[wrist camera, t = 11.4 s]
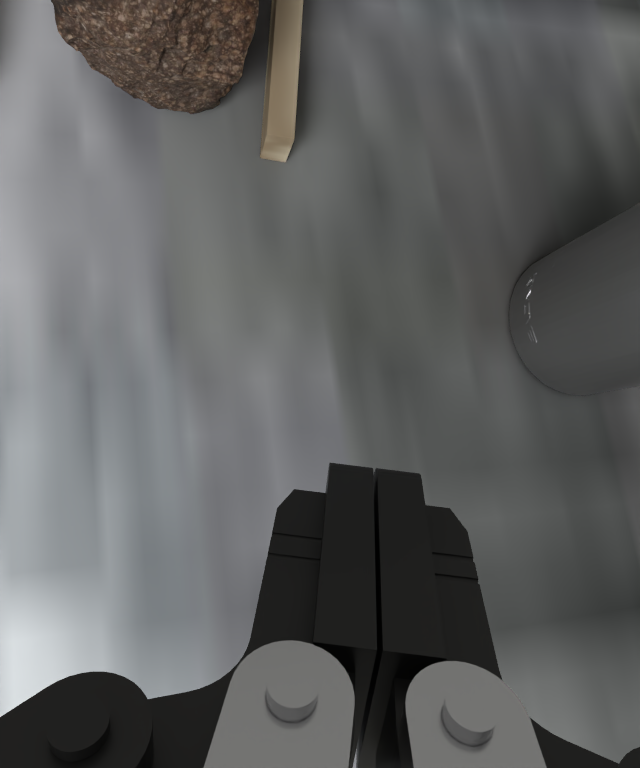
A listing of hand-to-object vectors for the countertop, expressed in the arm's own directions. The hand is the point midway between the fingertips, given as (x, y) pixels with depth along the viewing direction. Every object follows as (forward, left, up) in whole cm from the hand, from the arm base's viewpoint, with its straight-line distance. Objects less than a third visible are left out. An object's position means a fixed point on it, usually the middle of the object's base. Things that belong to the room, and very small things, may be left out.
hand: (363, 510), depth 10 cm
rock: (+5, -23, -22) cm, 33 cm away
